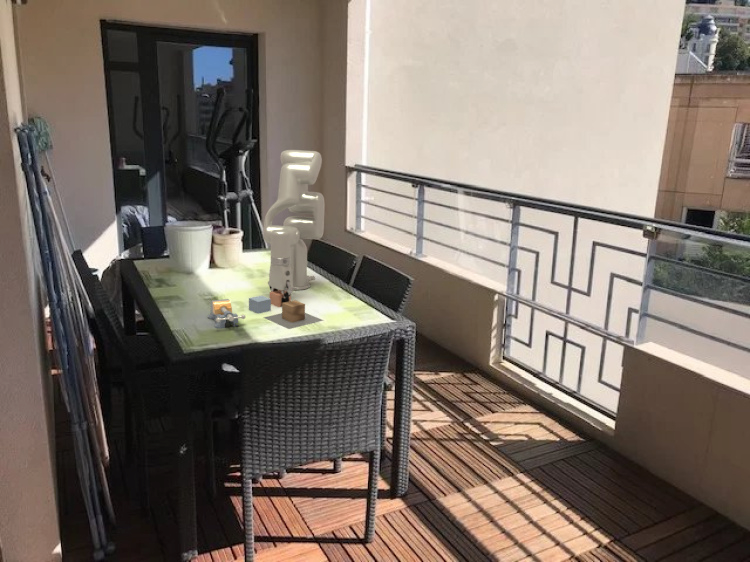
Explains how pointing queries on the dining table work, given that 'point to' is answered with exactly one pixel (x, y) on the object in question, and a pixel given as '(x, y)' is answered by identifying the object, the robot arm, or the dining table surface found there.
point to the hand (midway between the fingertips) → (280, 304)
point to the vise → (223, 313)
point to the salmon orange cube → (277, 298)
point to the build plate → (289, 325)
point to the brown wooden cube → (293, 311)
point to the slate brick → (259, 304)
